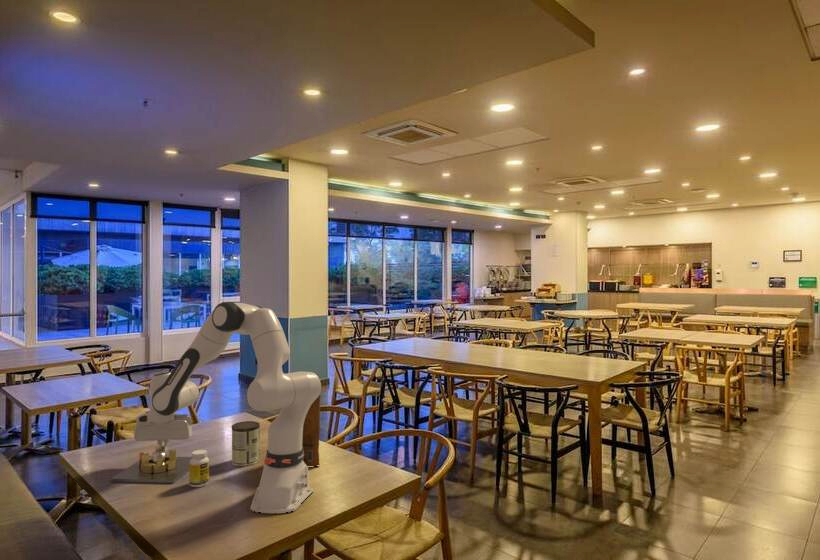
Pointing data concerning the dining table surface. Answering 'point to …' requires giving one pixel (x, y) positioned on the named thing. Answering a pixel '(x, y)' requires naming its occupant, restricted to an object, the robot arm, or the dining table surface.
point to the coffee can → (245, 443)
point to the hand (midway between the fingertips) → (163, 451)
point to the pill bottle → (199, 469)
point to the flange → (136, 476)
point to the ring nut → (158, 462)
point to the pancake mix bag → (312, 434)
